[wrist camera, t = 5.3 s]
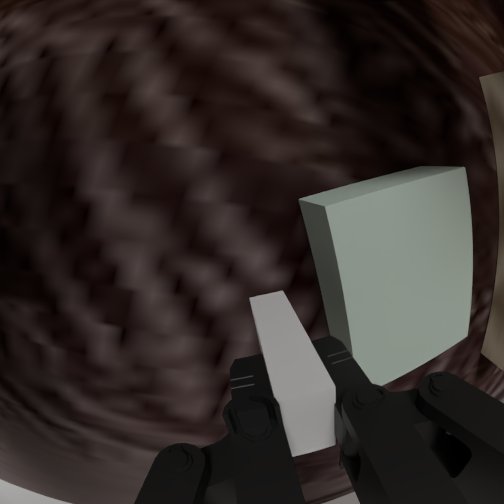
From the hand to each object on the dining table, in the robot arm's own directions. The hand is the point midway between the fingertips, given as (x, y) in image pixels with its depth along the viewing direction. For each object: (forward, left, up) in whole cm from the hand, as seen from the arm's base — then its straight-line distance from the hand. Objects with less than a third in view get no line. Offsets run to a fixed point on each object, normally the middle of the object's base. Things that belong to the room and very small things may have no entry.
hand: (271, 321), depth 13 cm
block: (0, +7, -2) cm, 8 cm away
